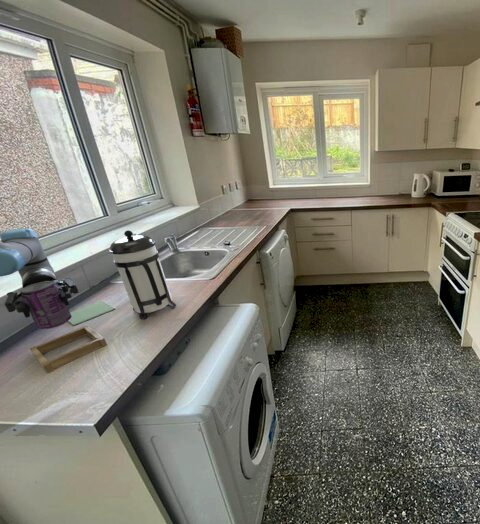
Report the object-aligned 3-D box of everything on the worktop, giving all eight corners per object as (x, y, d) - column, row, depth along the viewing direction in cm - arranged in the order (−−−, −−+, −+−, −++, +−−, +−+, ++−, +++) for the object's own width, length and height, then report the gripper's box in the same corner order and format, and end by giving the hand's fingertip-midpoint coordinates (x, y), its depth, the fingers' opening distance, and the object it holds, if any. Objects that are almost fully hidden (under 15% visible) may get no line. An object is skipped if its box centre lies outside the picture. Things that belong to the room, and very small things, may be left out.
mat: (62, 316, 104) (61, 315, 103) (102, 301, 113) (101, 300, 113) (73, 325, 97) (73, 325, 97) (114, 309, 107) (114, 308, 107)
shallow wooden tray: (33, 355, 84) (29, 348, 83) (89, 330, 94) (86, 324, 93) (47, 373, 77) (43, 366, 76) (107, 345, 87) (104, 338, 86)
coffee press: (117, 322, 98) (82, 239, 87) (149, 299, 113) (122, 225, 101) (166, 321, 97) (137, 237, 86) (192, 298, 112) (170, 223, 101)
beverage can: (45, 320, 83) (26, 284, 79) (76, 314, 86) (59, 278, 81) (33, 334, 77) (11, 295, 73) (66, 326, 80) (47, 288, 75)
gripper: (85, 282, 98) (98, 303, 84) (-1, 306, 85) (-3, 336, 70) (76, 262, 95) (89, 280, 81) (-15, 283, 82) (-19, 310, 68)
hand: (46, 306), depth 76 cm, fingers closed on beverage can, 7 cm apart
